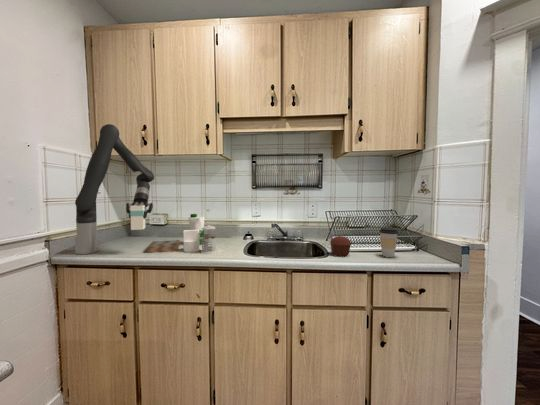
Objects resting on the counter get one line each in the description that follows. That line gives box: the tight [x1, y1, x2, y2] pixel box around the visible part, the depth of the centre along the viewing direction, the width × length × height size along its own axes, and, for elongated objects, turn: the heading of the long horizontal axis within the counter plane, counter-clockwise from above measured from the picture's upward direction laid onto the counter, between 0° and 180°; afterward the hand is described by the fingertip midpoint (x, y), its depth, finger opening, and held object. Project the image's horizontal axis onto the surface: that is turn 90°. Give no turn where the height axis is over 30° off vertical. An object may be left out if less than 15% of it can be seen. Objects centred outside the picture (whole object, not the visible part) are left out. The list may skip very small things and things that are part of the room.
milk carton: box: [188, 213, 205, 246], centre depth 160 cm, size 9×9×20 cm
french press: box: [198, 208, 218, 255], centre depth 140 cm, size 10×12×25 cm
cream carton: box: [130, 204, 146, 231], centre depth 135 cm, size 6×6×14 cm
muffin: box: [329, 235, 353, 257], centre depth 134 cm, size 12×11×10 cm
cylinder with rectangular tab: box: [182, 229, 200, 253], centre depth 143 cm, size 9×9×12 cm
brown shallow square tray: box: [146, 239, 180, 254], centre depth 146 cm, size 16×16×4 cm
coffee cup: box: [378, 227, 399, 258], centre depth 131 cm, size 9×9×15 cm
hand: (137, 217), depth 133 cm, fingers closed on cream carton, 6 cm apart
